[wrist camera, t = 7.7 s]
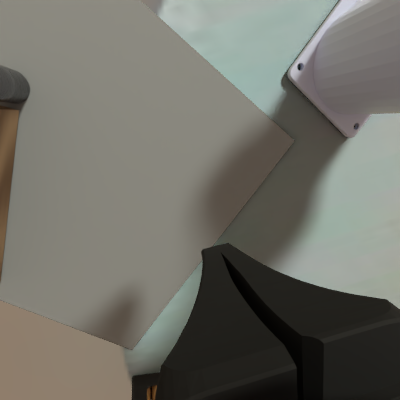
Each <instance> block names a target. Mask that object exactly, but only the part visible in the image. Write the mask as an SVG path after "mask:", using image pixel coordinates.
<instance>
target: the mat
mask: <svg viewBox="0 0 400 400" xmlns="http://www.w3.org/2000/svg"><path fill="white" fill-rule="evenodd" d="M0 65H2V66H5V67H8V68H10V69H13V70H16V71H18V72H20V73H21V74H22V75H23V76H24V77H25V78H26V79H27V81H28V83H29V86H30V95H29V97H28V98H27V100H26V101H24V102H22V103H19V104H13V103H5V102H0V105H1V106H5V107H8V108H12V109H15V110H19V117H18V126H17V135H16V144H15V153H14V162H13V171H12V181H11V190H10V199H9V208H8V217H7V226H6V235H5V245H4V254H3V263H2V272H1V281H0V300H1V301H3V302H6V303H9V304H12V305H14V306H17V307H19V308H22V309H25V310H28V311H30V312H33V313H35V314H38V315H41V316H43V317H46V318H48V319H51V320H54V321H56V322H59V323H62V324H64V325H67V326H70V327H72V328H75V329H78V330H80V331H83V332H86V333H88V334H91V335H94V336H96V337H99V338H102V339H104V340H107V341H109V342H112V343H115V344H117V345H120V346H123V347H125V348H128V349H131V350H132V349H133V348H134V347H135V345H136V344H137V343H138V342H139V340H140V339H141V338H142V336H143V335H144V334H145V333H146V331H147V330H148V329H149V327H150V326H151V325H152V324H153V322H154V321H155V320H156V318H157V317H158V316H159V315H160V313H161V312H162V311H163V309H164V308H165V307H166V306H167V304H168V303H169V302H170V300H171V299H172V298H173V297H174V295H175V294H176V293H177V291H178V290H179V289H180V288H181V286H182V285H183V284H184V282H185V281H186V280H187V279H188V277H189V276H190V275H191V273H192V272H193V271H194V270H195V268H196V267H197V266H198V265H199V263H200V262H201V261H202V255H201V251H202V250H203V249H205V248H209V247H213V245H214V244H215V243H216V241H217V240H218V239H219V238H220V236H221V235H222V234H223V232H224V231H225V230H226V229H227V227H228V226H229V225H230V223H231V222H232V221H233V220H234V218H235V217H236V216H237V214H238V213H239V212H240V211H241V209H242V208H243V207H244V205H245V204H246V203H247V202H248V200H249V199H250V198H251V196H252V195H253V194H254V193H255V191H256V190H257V189H258V187H259V186H260V185H261V184H262V182H263V181H264V180H265V178H266V177H267V176H268V175H269V173H270V172H271V171H272V169H273V168H274V167H275V166H276V164H277V163H278V162H279V160H280V159H281V158H282V157H283V155H284V154H285V153H286V151H287V150H288V149H289V148H290V146H291V145H292V144H293V142H294V141H295V140H293V139H292V138H291V137H290V136H289V135H288V134H287V133H286V132H285V131H284V130H282V129H281V128H280V127H279V126H278V125H277V124H276V123H275V122H274V121H273V120H271V119H270V118H269V117H268V116H267V115H266V114H265V113H264V112H263V111H262V110H260V109H259V108H258V107H257V106H256V105H255V104H254V103H253V102H252V101H251V100H249V99H248V98H247V97H246V96H245V95H244V94H243V93H242V92H241V91H240V90H238V89H237V88H236V87H235V86H234V85H233V84H232V83H231V82H230V81H229V80H227V79H226V78H225V77H224V76H223V75H222V74H221V73H220V72H219V71H218V70H216V69H215V68H214V67H213V66H212V65H211V64H210V63H209V62H208V61H207V60H205V59H204V58H203V57H202V56H201V55H200V54H199V53H198V52H197V51H196V50H194V49H193V48H192V47H191V46H190V45H189V44H188V43H187V42H186V41H185V40H183V39H182V38H181V37H180V36H179V35H178V34H177V33H176V32H175V31H174V30H173V29H171V28H170V27H169V26H168V25H167V24H166V23H165V22H164V21H163V20H162V19H160V18H159V17H158V16H157V15H156V14H155V13H154V12H153V11H152V10H151V9H149V8H148V7H147V6H146V5H145V4H144V3H143V2H142V1H141V0H0Z"/></svg>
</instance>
